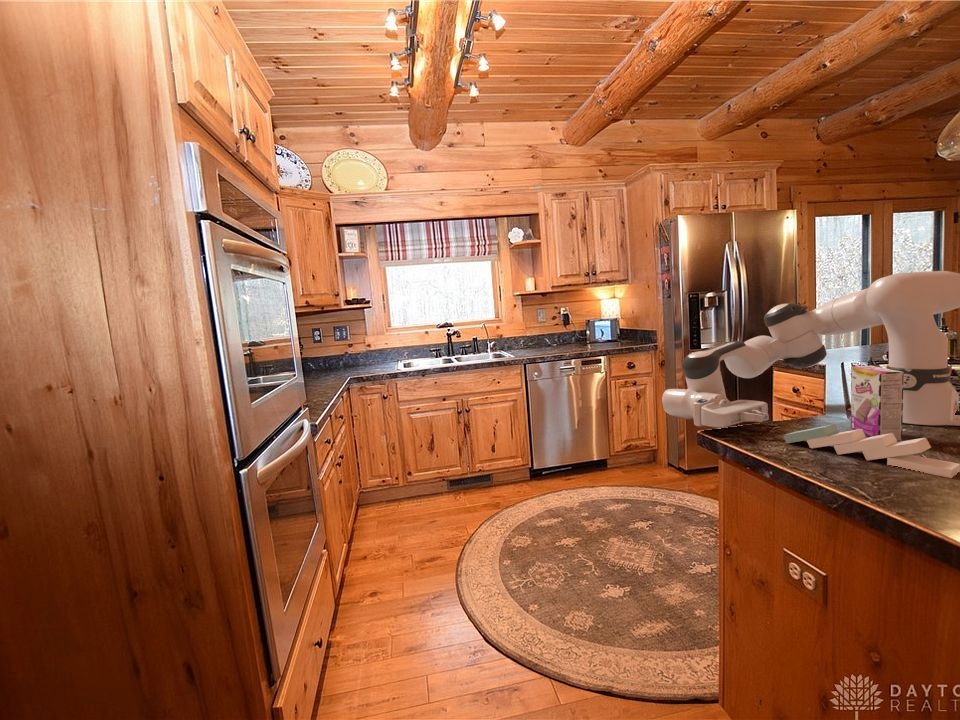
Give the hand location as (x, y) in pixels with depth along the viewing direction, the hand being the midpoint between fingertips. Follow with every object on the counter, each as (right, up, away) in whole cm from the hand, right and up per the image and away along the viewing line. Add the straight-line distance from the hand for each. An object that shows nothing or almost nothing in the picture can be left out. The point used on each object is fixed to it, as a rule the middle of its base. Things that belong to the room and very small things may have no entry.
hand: (765, 418), depth 111 cm
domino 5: (+12, -6, -21) cm, 25 cm away
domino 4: (+10, -5, -18) cm, 21 cm away
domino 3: (+8, -5, -14) cm, 17 cm away
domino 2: (+6, -4, -9) cm, 11 cm away
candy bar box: (+24, -4, -4) cm, 25 cm away
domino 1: (+3, -4, -4) cm, 7 cm away
